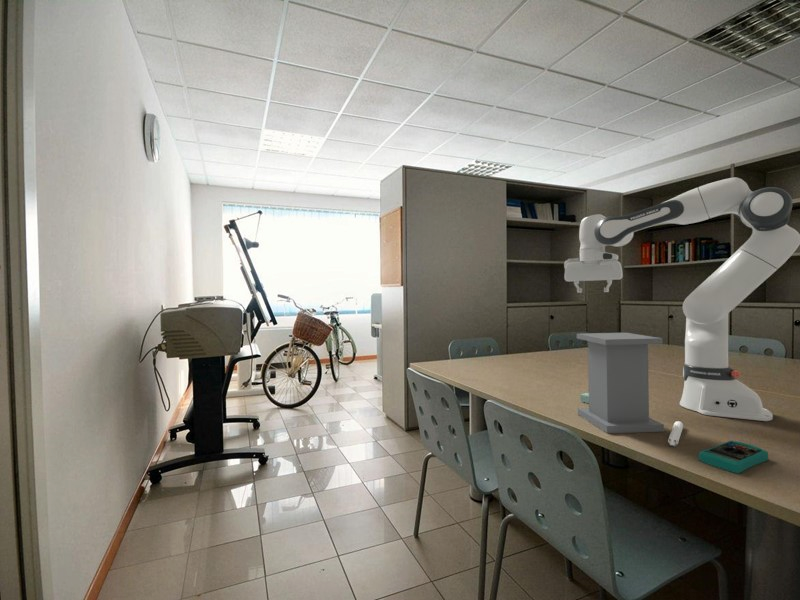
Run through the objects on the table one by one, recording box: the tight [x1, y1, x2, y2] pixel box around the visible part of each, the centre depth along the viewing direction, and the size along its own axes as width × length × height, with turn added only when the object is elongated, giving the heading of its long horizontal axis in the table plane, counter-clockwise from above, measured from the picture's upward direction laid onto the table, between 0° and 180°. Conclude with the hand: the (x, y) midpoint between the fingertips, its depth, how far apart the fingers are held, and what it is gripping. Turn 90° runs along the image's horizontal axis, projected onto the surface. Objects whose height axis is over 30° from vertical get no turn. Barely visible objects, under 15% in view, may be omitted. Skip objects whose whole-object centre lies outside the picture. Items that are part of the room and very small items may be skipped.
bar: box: [580, 391, 589, 404], centre depth 137 cm, size 23×3×3 cm, turn 125°
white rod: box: [667, 420, 684, 447], centre depth 99 cm, size 18×2×2 cm, turn 139°
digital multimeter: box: [698, 440, 769, 474], centre depth 85 cm, size 7×15×3 cm, turn 116°
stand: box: [576, 332, 665, 434], centre depth 110 cm, size 16×16×26 cm
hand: (592, 292), depth 144 cm, fingers open, 8 cm apart
